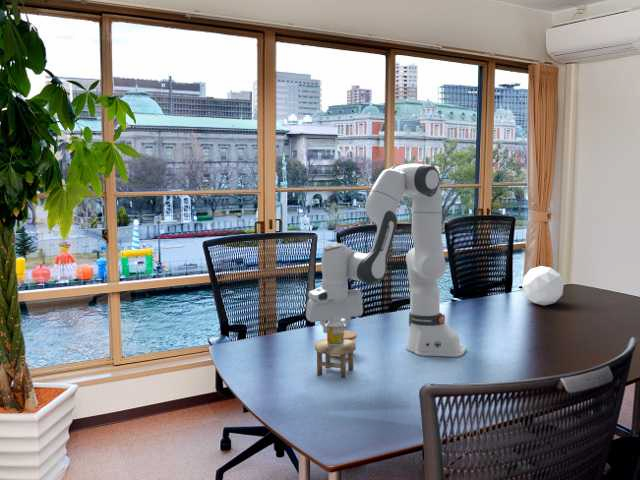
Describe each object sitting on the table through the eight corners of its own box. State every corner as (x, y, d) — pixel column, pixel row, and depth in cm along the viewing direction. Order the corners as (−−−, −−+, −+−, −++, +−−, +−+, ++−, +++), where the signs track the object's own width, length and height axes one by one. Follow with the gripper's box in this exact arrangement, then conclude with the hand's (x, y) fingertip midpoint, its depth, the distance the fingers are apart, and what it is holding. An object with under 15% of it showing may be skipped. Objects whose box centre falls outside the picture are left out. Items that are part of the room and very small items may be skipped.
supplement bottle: (326, 342, 211) (325, 313, 210) (342, 341, 212) (342, 312, 210) (328, 346, 205) (327, 317, 204) (344, 346, 206) (344, 316, 205)
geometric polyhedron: (549, 319, 300) (559, 293, 286) (511, 301, 309) (519, 274, 295) (565, 295, 310) (574, 269, 296) (528, 278, 319) (535, 252, 305)
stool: (360, 367, 214) (360, 340, 212) (348, 381, 201) (348, 352, 199) (323, 363, 219) (322, 336, 217) (309, 376, 206) (308, 348, 204)
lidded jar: (360, 350, 233) (359, 327, 232) (352, 359, 223) (352, 334, 222) (333, 348, 236) (333, 325, 235) (324, 356, 226) (324, 332, 225)
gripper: (357, 286, 213) (357, 325, 215) (303, 292, 205) (304, 332, 207) (366, 290, 207) (366, 329, 209) (311, 296, 199) (312, 337, 201)
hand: (335, 331), depth 208 cm, fingers closed on supplement bottle, 5 cm apart
